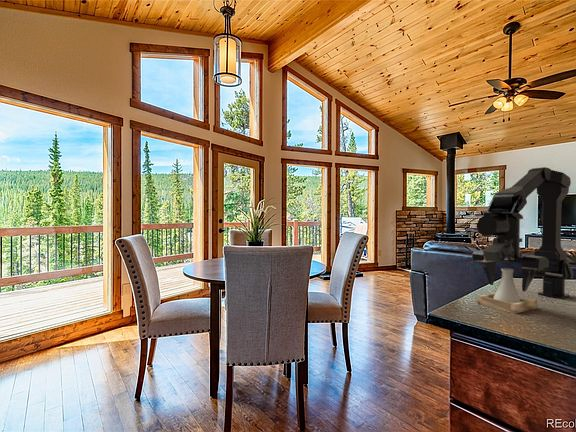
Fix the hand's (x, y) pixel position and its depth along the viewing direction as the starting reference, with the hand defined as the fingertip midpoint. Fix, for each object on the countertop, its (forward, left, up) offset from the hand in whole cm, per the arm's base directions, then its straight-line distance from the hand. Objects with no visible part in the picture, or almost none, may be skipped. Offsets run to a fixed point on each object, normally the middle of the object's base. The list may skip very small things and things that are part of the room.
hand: (507, 287), depth 98 cm
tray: (0, 0, -5) cm, 5 cm away
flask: (0, 0, -5) cm, 5 cm away
